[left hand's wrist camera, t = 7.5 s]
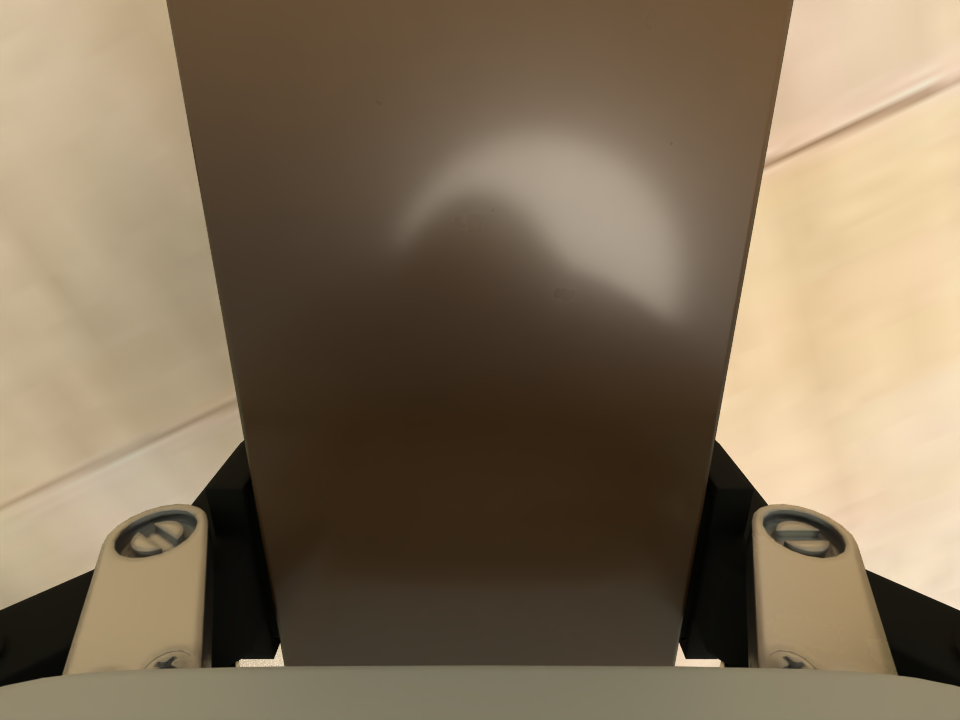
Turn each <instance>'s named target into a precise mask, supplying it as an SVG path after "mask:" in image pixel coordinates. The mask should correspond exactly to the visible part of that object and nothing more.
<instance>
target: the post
mask: <svg viewBox="0 0 960 720" xmlns="http://www.w3.org/2000/svg"><path fill="white" fill-rule="evenodd" d="M166 1H167V6H168V12H169V18H170V23H171V29H172V35H173V40H174V46H175V52H176V57H177V63H178V68H179V74H180V80H181V85H182V91H183V97H184V102H185V108H186V114H187V119H188V125H189V130H190V136H191V142H192V147H193V153H194V159H195V164H196V170H197V176H198V181H199V187H200V192H201V198H202V204H203V209H204V215H205V221H206V226H207V232H208V238H209V243H210V249H211V254H212V260H213V266H214V271H215V277H216V283H217V288H218V294H219V300H220V305H221V311H222V316H223V322H224V328H225V333H226V339H227V345H228V350H229V356H230V362H231V367H232V373H233V378H234V384H235V390H236V395H237V401H238V407H239V412H240V418H241V424H242V429H243V435H244V440H245V446H246V452H247V457H248V463H249V469H250V474H251V480H252V486H253V491H254V497H255V502H256V508H257V514H258V519H259V525H260V531H261V536H262V542H263V548H264V553H265V559H266V564H267V570H268V576H269V581H270V587H271V593H272V598H273V604H274V610H275V615H276V621H277V626H278V632H279V638H280V643H281V649H282V655H283V660H284V666H463V665H497V666H675V661H676V655H677V650H678V644H679V638H680V633H681V627H682V622H683V616H684V610H685V605H686V599H687V594H688V588H689V582H690V577H691V571H692V566H693V560H694V554H695V549H696V543H697V538H698V532H699V526H700V521H701V515H702V510H703V504H704V498H705V493H706V487H707V482H708V476H709V471H710V465H711V459H712V454H713V448H714V443H715V437H716V431H717V426H718V420H719V415H720V409H721V403H722V398H723V392H724V387H725V381H726V375H727V370H728V364H729V359H730V353H731V347H732V342H733V336H734V331H735V325H736V319H737V314H738V308H739V303H740V297H741V291H742V286H743V280H744V275H745V269H746V263H747V258H748V252H749V247H750V241H751V235H752V230H753V224H754V219H755V213H756V207H757V202H758V196H759V191H760V185H761V179H762V174H763V168H764V163H765V157H766V151H767V146H768V140H769V135H770V129H771V123H772V118H773V112H774V107H775V101H776V95H777V90H778V84H779V79H780V73H781V67H782V62H783V56H784V51H785V45H786V39H787V34H788V28H789V23H790V17H791V11H792V6H793V0H166Z"/></svg>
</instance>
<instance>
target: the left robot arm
mask: <svg viewBox="0 0 960 720" xmlns="http://www.w3.org/2000/svg"><path fill="white" fill-rule="evenodd" d="M679 643H680V646H681V648H682V651H683V653H684V656H685V658H686V659H717V658H718V659H719V660H721V664H720V667H678V666H497V665H463V666H282V667H240V664H239V660H240V659H274V657H275V655H276V652H277V650H278V647H279V645H280V638H279V632H278V626H277V621H276V615H275V610H274V604H273V598H272V593H271V587H270V581H269V576H268V570H267V564H266V559H265V553H264V548H263V542H262V536H261V531H260V525H259V519H258V514H257V508H256V502H255V497H254V491H253V486H252V480H251V474H250V469H249V463H248V457H247V452H246V446H245V440H244V441H243V442H242V443H240V445H239V446H238V447H237V448H236V450H235V451H234V452H233V453H232V455H231V456H230V457H229V458H228V460H227V461H226V462H225V463H224V465H223V466H222V467H221V468H220V470H219V471H218V472H217V473H216V475H215V476H214V477H213V478H212V480H211V481H210V482H209V484H208V485H207V486H206V487H205V489H204V490H203V491H202V492H201V494H200V495H199V496H198V497H197V499H196V500H195V501H194V502H193V504H192V505H184V504H174V505H167V506H161V507H157V508H154V509H150V510H147V511H144V512H142V513H140V514H137V515H135V516H133V517H131V518H129V519H128V520H126V521H125V522H123V523H121V524H120V525H118V526H117V527H116V528H115V529H114V530H113V531H112V532H111V533H110V534H109V535H108V536H107V538H106V539H105V541H104V543H103V545H102V548H101V551H100V554H99V557H98V561H97V564H96V567H95V569H94V570H92V571H89V572H87V573H85V574H83V575H80V576H78V577H76V578H73V579H71V580H69V581H67V582H64V583H62V584H60V585H57V586H55V587H53V588H51V589H48V590H46V591H44V592H41V593H39V594H37V595H34V596H32V597H30V598H28V599H25V600H23V601H21V602H18V603H16V604H14V605H12V606H9V607H7V608H5V609H2V610H0V720H960V610H957V609H955V608H953V607H950V606H948V605H946V604H944V603H941V602H939V601H937V600H934V599H932V598H930V597H928V596H925V595H923V594H921V593H918V592H916V591H914V590H911V589H909V588H907V587H905V586H902V585H900V584H898V583H895V582H893V581H891V580H889V579H886V578H884V577H882V576H879V575H877V574H875V573H873V572H870V571H868V570H866V569H865V567H864V564H863V561H862V557H861V554H860V551H859V548H858V545H857V543H856V541H855V539H854V538H853V536H852V535H851V534H850V533H849V532H848V531H847V530H846V529H845V528H844V527H843V526H842V525H840V524H839V523H837V522H835V521H834V520H832V519H831V518H829V517H827V516H825V515H823V514H820V513H818V512H816V511H813V510H810V509H806V508H803V507H799V506H793V505H786V504H776V505H768V504H767V503H766V502H765V500H764V499H763V498H762V497H761V495H760V494H759V493H758V492H757V490H756V489H755V488H754V487H753V485H752V484H751V483H750V482H749V480H748V479H747V478H746V477H745V475H744V474H743V473H742V472H741V470H740V469H739V468H738V466H737V465H736V464H735V463H734V461H733V460H732V459H731V458H730V456H729V455H728V454H727V453H726V451H725V450H724V449H723V448H722V446H721V445H720V444H719V443H718V442H717V441H716V440H715V443H714V448H713V454H712V459H711V465H710V471H709V476H708V482H707V487H706V493H705V498H704V504H703V510H702V515H701V521H700V526H699V532H698V538H697V543H696V549H695V554H694V560H693V566H692V571H691V577H690V582H689V588H688V594H687V599H686V605H685V610H684V616H683V622H682V627H681V633H680V638H679Z"/></svg>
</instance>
